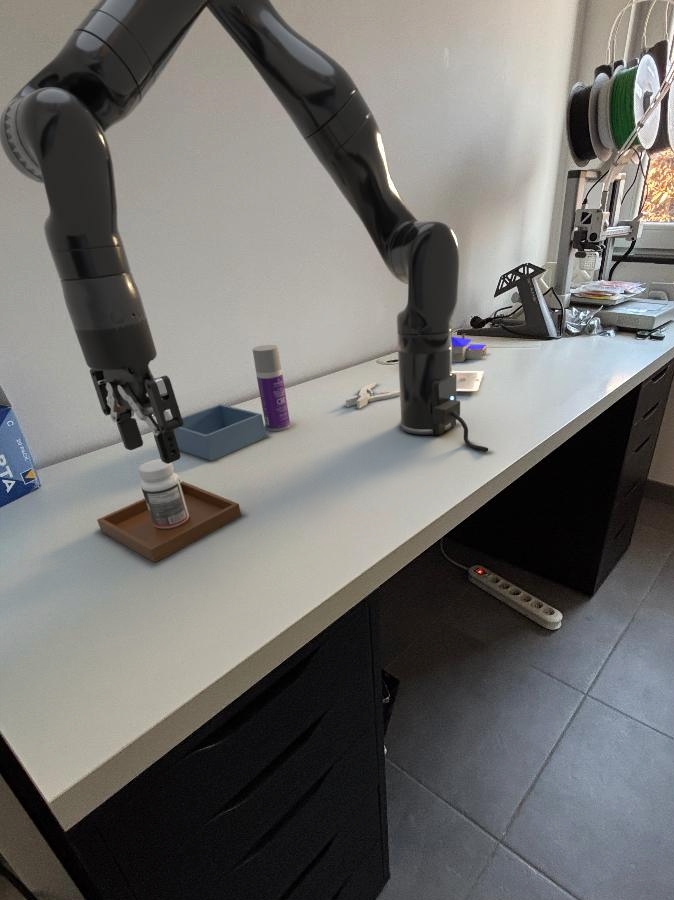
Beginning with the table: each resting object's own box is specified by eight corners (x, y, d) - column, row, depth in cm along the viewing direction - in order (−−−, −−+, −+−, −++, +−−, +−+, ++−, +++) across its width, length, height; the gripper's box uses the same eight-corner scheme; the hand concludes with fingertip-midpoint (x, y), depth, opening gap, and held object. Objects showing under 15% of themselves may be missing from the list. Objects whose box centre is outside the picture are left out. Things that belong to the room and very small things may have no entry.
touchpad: (440, 395, 113) (440, 385, 112) (450, 375, 125) (450, 366, 124) (477, 396, 111) (477, 386, 110) (483, 376, 123) (483, 366, 122)
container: (285, 431, 100) (272, 350, 92) (262, 431, 101) (247, 351, 93) (293, 422, 104) (282, 344, 96) (271, 422, 105) (258, 344, 97)
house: (476, 365, 132) (477, 342, 129) (422, 363, 137) (421, 341, 134) (486, 354, 141) (487, 332, 138) (435, 352, 146) (434, 331, 143)
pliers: (409, 382, 117) (371, 403, 106) (409, 389, 118) (372, 410, 107) (372, 378, 122) (332, 397, 111) (373, 385, 123) (333, 404, 112)
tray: (241, 515, 73) (238, 503, 72) (155, 562, 64) (150, 549, 63) (185, 492, 80) (182, 481, 79) (101, 531, 71) (96, 519, 70)
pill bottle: (159, 513, 74) (141, 458, 70) (193, 510, 74) (178, 455, 70) (148, 531, 70) (129, 474, 65) (185, 528, 70) (168, 470, 66)
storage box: (266, 437, 98) (261, 414, 96) (211, 461, 90) (205, 436, 87) (225, 425, 105) (220, 403, 102) (170, 447, 96) (164, 423, 94)
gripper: (176, 317, 57) (211, 454, 65) (110, 310, 65) (149, 434, 73) (110, 331, 52) (157, 478, 60) (47, 323, 60) (96, 453, 68)
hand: (152, 454), depth 67 cm, fingers open, 8 cm apart
